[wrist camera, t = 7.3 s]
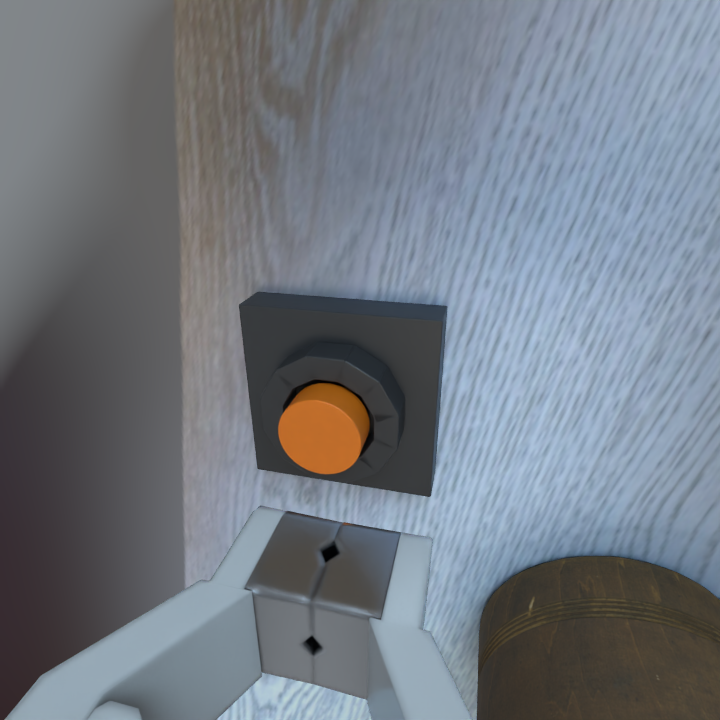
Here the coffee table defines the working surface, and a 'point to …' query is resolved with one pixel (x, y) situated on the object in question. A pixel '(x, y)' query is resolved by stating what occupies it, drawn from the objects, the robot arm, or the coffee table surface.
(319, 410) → the release button
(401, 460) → the control block
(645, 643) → the wooden container
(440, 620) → the coffee table surface
